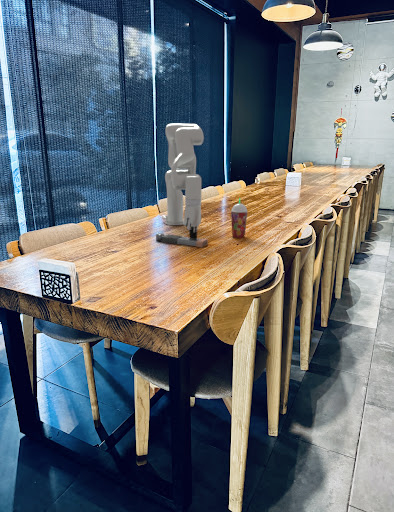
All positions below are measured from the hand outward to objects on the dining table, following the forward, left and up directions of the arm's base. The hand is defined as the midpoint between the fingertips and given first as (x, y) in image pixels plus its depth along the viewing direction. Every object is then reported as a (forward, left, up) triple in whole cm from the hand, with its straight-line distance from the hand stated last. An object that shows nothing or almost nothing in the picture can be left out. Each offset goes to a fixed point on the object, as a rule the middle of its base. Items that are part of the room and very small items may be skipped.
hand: (193, 239), depth 183 cm
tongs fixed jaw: (-3, -6, -1) cm, 6 cm away
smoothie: (+16, +21, -2) cm, 26 cm away
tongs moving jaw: (-5, -4, -1) cm, 6 cm away
